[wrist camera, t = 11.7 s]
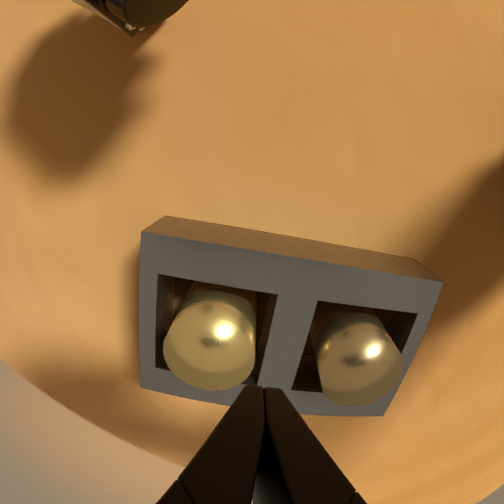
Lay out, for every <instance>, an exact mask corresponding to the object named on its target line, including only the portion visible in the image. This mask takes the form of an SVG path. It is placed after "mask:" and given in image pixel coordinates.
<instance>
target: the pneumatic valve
mask: <svg viewBox="0 0 504 504" xmlns="http://www.w3.org/2000/svg"><path fill="white" fill-rule="evenodd" d="M72 1H73V2H75V3H77V4H79V5H81V6H82V7H84V8H86V9H88V10H89V11H91V12H93V13H94V14H96V15H98V16H99V17H101V18H103V19H104V20H106V21H108V22H109V23H111V24H113V25H114V26H116V27H117V28H119V29H121V30H122V31H124V32H125V33H127V34H129V35H130V36H132V37H133V36H134V35H135V34H136V33H137V32H138V31H143V30H144V29H145V28H146V27H150V26H153V25H156V24H158V23H160V22H162V21H164V20H165V19H167V18H169V17H170V16H172V15H173V14H174V13H175V12H177V11H178V10H179V9H180V8H181V7H182V6H183V5H184V4H185V3H186V2H187V1H188V0H72Z"/></svg>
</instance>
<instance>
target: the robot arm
mask: <svg viewBox="0 0 504 504" xmlns="http://www.w3.org/2000/svg"><path fill="white" fill-rule="evenodd" d="M355 491H356V489H355V488H354V487H353V486H352V484H351V483H350V482H349V480H348V479H347V478H346V476H345V475H344V474H343V473H342V471H341V470H340V469H339V467H338V466H337V465H336V463H335V462H334V461H333V459H332V458H331V457H330V455H329V454H328V453H327V451H326V450H325V449H324V447H323V446H322V445H321V443H320V442H319V441H318V439H317V438H316V437H315V435H314V434H313V432H312V431H311V430H310V428H309V427H308V426H307V424H306V423H305V421H304V420H303V419H302V417H301V416H300V414H299V413H298V412H297V410H296V409H295V407H294V406H293V405H292V403H291V402H290V400H289V399H288V397H287V396H286V395H285V393H284V392H283V390H282V389H280V388H273V387H264V388H263V387H262V386H257V385H250V384H247V385H245V386H244V388H243V389H242V390H241V392H240V393H239V395H238V396H237V398H236V399H235V401H234V402H233V403H232V405H231V406H230V408H229V409H228V411H227V412H226V413H225V415H224V416H223V418H222V419H221V420H220V422H219V423H218V425H217V426H216V427H215V429H214V430H213V432H212V433H211V434H210V436H209V437H208V438H207V440H206V441H205V442H204V444H203V445H202V447H201V448H200V449H199V451H198V452H197V453H196V455H195V456H194V457H193V459H192V460H191V461H190V462H189V464H188V465H187V466H186V468H185V469H184V470H183V472H182V473H181V474H180V475H179V477H178V480H176V481H175V482H174V483H173V484H172V485H171V486H170V488H169V489H168V490H167V491H166V493H165V494H164V495H163V496H162V497H161V499H160V500H159V501H158V502H157V503H156V504H251V502H252V499H253V504H367V503H366V502H365V500H364V499H363V498H362V497H361V495H360V494H359V493H358V492H355Z"/></svg>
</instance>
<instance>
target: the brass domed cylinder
mask: <svg viewBox="0 0 504 504" xmlns="http://www.w3.org/2000/svg"><path fill="white" fill-rule="evenodd" d="M256 312H257V299H256V294H255V291H254V290H247V289H241V288H235V287H230V286H224V285H218V284H212V283H206V282H201V281H194V283H193V284H192V286H191V288H190V290H189V292H188V293H187V295H186V297H185V299H184V301H183V303H182V305H181V307H180V309H179V311H178V313H177V315H176V317H175V319H174V321H173V323H172V325H171V327H170V329H169V331H168V333H167V335H166V337H165V340H164V344H163V354H164V358H165V361H166V363H167V365H168V367H169V368H170V370H171V371H172V372H173V373H174V374H175V375H176V376H177V377H178V378H179V379H180V380H182V381H183V382H185V383H187V384H188V385H191V386H193V387H196V388H199V389H203V390H209V391H220V390H226V389H230V388H233V387H235V386H237V385H239V384H241V383H242V382H243V381H244V380H245V379H246V378H247V377H248V376H249V375H250V373H251V372H252V370H253V367H254V362H255V341H256Z"/></svg>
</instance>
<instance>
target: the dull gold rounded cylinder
mask: <svg viewBox="0 0 504 504" xmlns="http://www.w3.org/2000/svg"><path fill="white" fill-rule="evenodd" d="M309 334H310V338H311V342H312V347H313V351H314V355H315V359H316V363H317V368H318V372H319V376H320V380H321V385H322V389H323V392H324V394H325V396H326V397H327V398H328V399H329V400H330V401H332V402H333V403H335V404H338V405H341V406H347V407H356V406H362V405H366V404H369V403H372V402H374V401H376V400H378V399H380V398H381V397H383V396H384V395H386V394H387V393H388V392H389V391H390V390H391V389H392V388H393V387H394V386H395V385H396V383H397V382H398V380H399V378H400V376H401V374H402V370H403V358H402V356H401V353H400V352H399V350H398V348H397V347H396V345H395V344H394V342H393V341H392V339H391V337H390V336H389V334H388V333H387V331H386V329H385V328H384V326H383V325H382V323H381V322H380V320H379V319H378V317H377V316H376V314H375V313H374V311H373V309H372V308H370V307H362V306H355V305H347V304H340V303H333V302H326V301H318V302H317V305H316V308H315V312H314V315H313V319H312V322H311V326H310V329H309Z"/></svg>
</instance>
